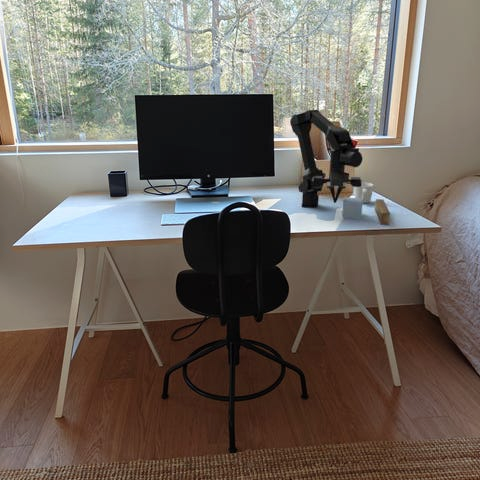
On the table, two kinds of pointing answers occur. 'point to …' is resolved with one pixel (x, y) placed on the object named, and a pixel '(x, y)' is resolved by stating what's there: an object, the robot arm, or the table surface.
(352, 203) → the block
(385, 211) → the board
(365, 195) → the cup
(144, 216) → the table surface
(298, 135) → the robot arm
